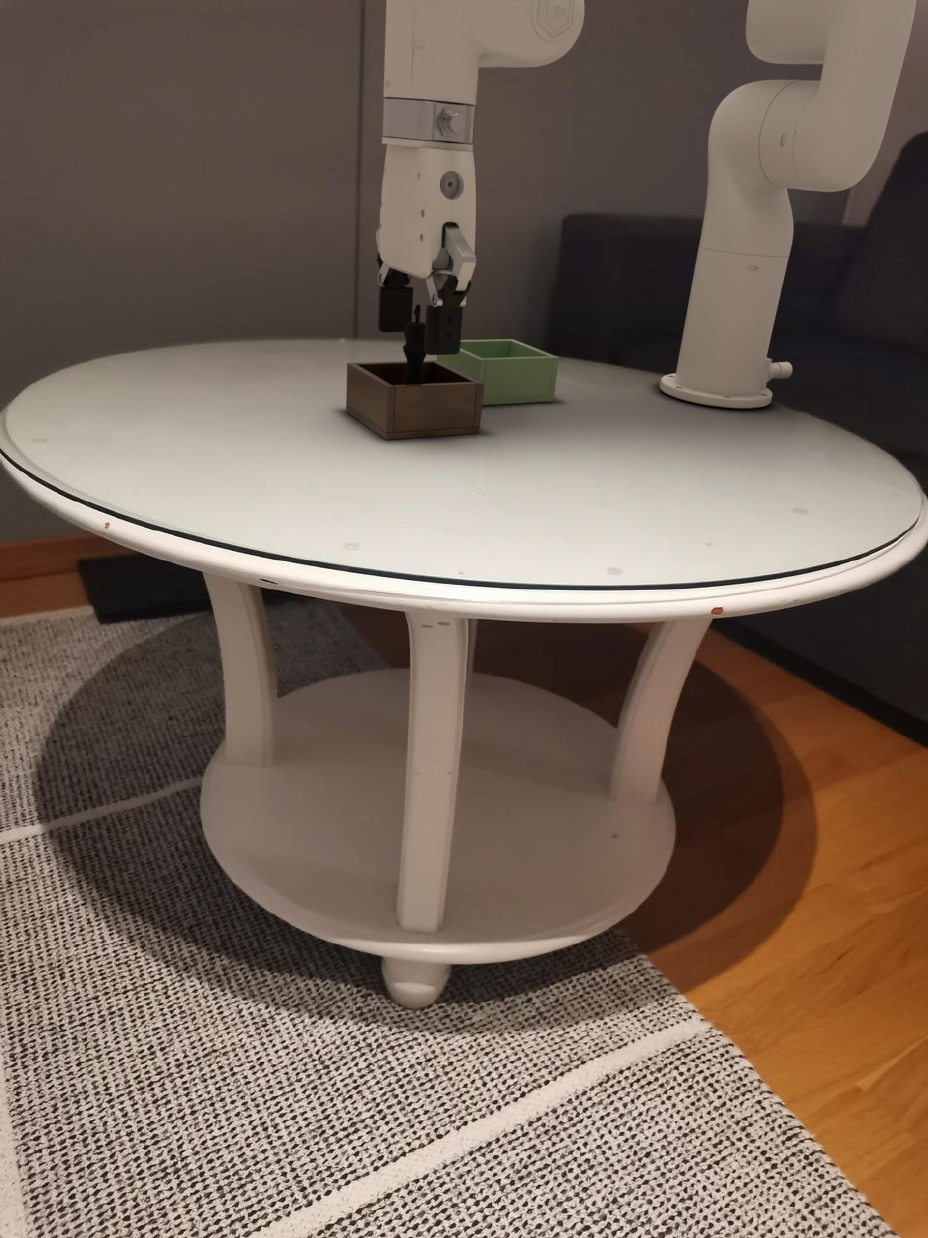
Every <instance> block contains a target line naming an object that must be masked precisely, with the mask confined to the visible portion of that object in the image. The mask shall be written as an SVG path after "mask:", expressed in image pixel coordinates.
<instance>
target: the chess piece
mask: <svg viewBox="0 0 928 1238" xmlns="http://www.w3.org/2000/svg"><path fill="white" fill-rule="evenodd" d="M413 314H414V321H412V322H409V324H408V325H407V326H406V327H405V329H404V332H403V337H404V338H405V344H404V345H403V346H402V351H403V353H404V356H405V359H406V361H407V373H406V377H405V380H404V382H403V384H402V385H413V384H424V381H423V377H422V365H423V361H425V359H426V356H427V355H428V354H426V353H425V351H424V342H425V324H426V322H421V321H420V320H421V319H420V318H421V304H416V305H415V308H414V310H413Z"/></svg>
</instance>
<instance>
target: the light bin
mask: <svg viewBox="0 0 928 1238" xmlns="http://www.w3.org/2000/svg"><path fill="white" fill-rule="evenodd" d="M436 360H437V361H439V362H441V363H443V364H445V365H447V366H449V367H452V368H454V369H456V370H458V371H460V372H462V373H464V374H466V375H468V376H470V377H472V378H474V379H476V380H478V381H480V382H482V383H484V388H483V399H482V406H492V405H493V406H494V405H495V406H496V405H513V404H530V403H544V402H546V403H549V402H554V401H555V393H556V384H557V376H558V369H559V360H560V357H559V356H557V355H553V354H551V353H549V352H547V351H545V350H544V351H543V350H541V349H539V348H536V347H534V346H531V345H529V344H526V343H523V342H521V341H520V340H516V339H513V338H505V339H503V338H502V339H500V338H499V339H461V341H460V351H459V353H458V354H451V355H436Z"/></svg>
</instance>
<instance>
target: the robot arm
mask: <svg viewBox="0 0 928 1238" xmlns="http://www.w3.org/2000/svg"><path fill="white" fill-rule="evenodd" d="M385 1H386V4H385V6H386V7H385V30H384V31H385V33H384V35H385V36H384V63H383V65H384V66H383V95H382V97H383V99H382V124H381V125H382V126H381V144H382V145H386V152H385V157H384V158H385V159H384V166H383V173H382V185H381V196H380V209H379V226H378V227H379V228H378V229H377V230H376V232H375V240H376V246H377V247H376V248H377V256H376V263H377V265H378V269H379V271H378V274H377V283H378V285H379V287H378V290H379V291H378V319H377V329H378V331H380V332H382V333H404V329H405V327H406V326H407V325H408V324H409V322H413V304H414V287H413V286H410V283H411V281H412V279H413V277H415V278H418V279H423V280H425V284H426V287H427V291H428V295H429V299H430V302H431V304H430V305H429V304H427V305H426V306H425V307H426V310H425V342H424V351H425V353H426V354H427V355H428V356H437V355H451V354H458V353H459V351H460V341H461V340H462V329H463V328H462V325H463V314H464V313H463V312H464V308H465V307H466V305H467V301H468V299H467V295H468V293H469V291H470V289H471V287H472V281H471V280H472V277H473V275H474V271H475V269H476V265H477V257H476V254H475V251H476V249H475V248H476V229H477V228H476V222H477V186H476V184H477V183H476V166H475V158H474V152H473V151H474V139H475V138H474V136H475V124H476V109H477V108H476V106H477V96H478V84H479V83H478V82H479V69H480V68H481V69H482V68H483V69H484V68H485V69H486V68H507V69H515V68H516V69H517V68H537V67H543V66H547V65H550V64H552V63H554V62H556V61H558V60H560V59H561V58H562V57H563V56H565V55H566V54H567V53H568V52H569V51H570V50H571V49H572V48H573V47H574V45H575V44H576V42H577V40H578V39H579V37H580V35H581V32H582V29H583V26H584V21H585V9H586V8H585V1H584V0H385ZM916 7H917V0H748V4H747V10H746V11H747V12H746V21H745V39H746V44H747V46H748V49H749V51H750V52H751V54H753V56H754V57H756V58H757V59H759V60H760V61H763V62H766V63H769V64H775V65H776V64H777V65H822V68H821V75H820V80H807V79H765V80H764V79H763V80H757V81H756V80H755V81H752V82H748V83H745V84H743V85H740V86H739V87H737V88H735V89H734V90H732V91H731V92H730V93H729V94H727V95H726V96H725V97H724V98H723V99H722V100H721V102H720V104H719V105H718V107H717V108H716V110H715V112H714V114H713V117H712V120H711V122H710V127H709V131H708V138H707V139H708V140H707V189H706V199H705V208H704V213H703V214H704V215H703V220H702V221H703V222H702V227H701V234H700V238H699V239H700V240H699V244H698V247H697V248H698V249H697V255H696V259H695V264H694V265H695V266H694V271H693V277H692V283H691V288H690V292H689V293H690V294H689V298H688V305H687V309H686V310H687V312H686V314H685V315H686V316H685V321H684V326H683V332H682V336H681V337H682V338H681V343H680V348H679V354H678V360H677V365H676V371H675V373H669V374H666V375H664V376H663V377H661V378H660V382H659V383H660V384H659V389H660V391H662V392H663V393H664V394H666V395H668V396H670V397H673V398H675V399H679V400H682V401H686V402H690V403H694V404H698V405H704V406H710V407H717V408H727V409H729V408H730V409H758V408H762V407H767V406H768V405H770V404H771V403H772V400H773V392H772V390H771V389H769V388H768V387H767V383H769V382H770V381H771V380H788V379H789V378H790V377H791V376H792V374H793V366H792V364H791V363H790V362H789V361H783V362H782V361H779V362H772V361H773V359H772V358H769V357H768V352H769V347H770V343H771V338H772V333H773V330H774V325H775V321H776V315H777V311H778V306H779V302H780V298H781V293H782V288H783V285H784V279H785V275H786V271H787V266H788V262H789V257H790V255H791V250H792V246H793V239H794V217H793V210H792V206H791V205H792V204H791V202H790V201H791V200H790V198H789V197H790V196H789V193H788V189H791V190H800V191H801V190H802V191H808V192H809V191H811V192H821V193H835V192H841V191H846V190H848V189H850V188H852V187H853V186H855V185H857V184H858V183H859V182H860V181H861V180H862V179H864V177H865V176H866V175H867V173H868V172H869V171H870V169H871V168H872V166H873V164H874V163H875V160H876V159H877V156H878V153H879V151H880V149H881V145H882V142H883V139H884V136H885V134H886V133H885V132H886V130H887V125H888V122H889V118H890V114H891V111H892V107H893V103H894V99H895V95H896V91H897V88H898V84H899V80H900V76H901V72H902V68H903V64H904V61H905V60H904V59H905V57H906V52H907V48H908V45H909V41H910V37H911V33H912V28H913V24H914V19H915V13H916ZM440 282H443V285H442V286H441V284H440Z"/></svg>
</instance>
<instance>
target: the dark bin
mask: <svg viewBox="0 0 928 1238" xmlns="http://www.w3.org/2000/svg"><path fill="white" fill-rule="evenodd" d="M406 373H407V360H401V361H400V360H398V361H397V360H396V361H365V362H364V361H363V362H347V363H346V396H345V397H346V398H345V399H346V401H345V403H346V404H345V412H346V413H347V414H349V415H350V416H351V417H353V418H354V419H356V420H357V421H358V422H360V423H362V424H363V425H364V426H366V427H367V428H368V429H370V430H372V431H373V432H375V433H376V434H377V435H378V436H380V437H382V438H383V439H384V440H385V441H388V440H402V439H419V438H431V437H432V438H433V437H444V436H445V437H446V436H461V435H472V434H473V435H475V434H480V431H481V420H482V409H483V405H482V399H483V388H484V383H482V382H480V381H478V380H476V379H474V378H472V377H470V376H468V375H466V374H464V373H462V372H460V371H458V370H456V369H454V368H452V367H449V366H447V365H445V364H443V363H441V362H439V361H437V359H435V360H424V361H423V365H422V377H423V381H424V384H413V385H402V384H403V382H404V380H405V377H406Z"/></svg>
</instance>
